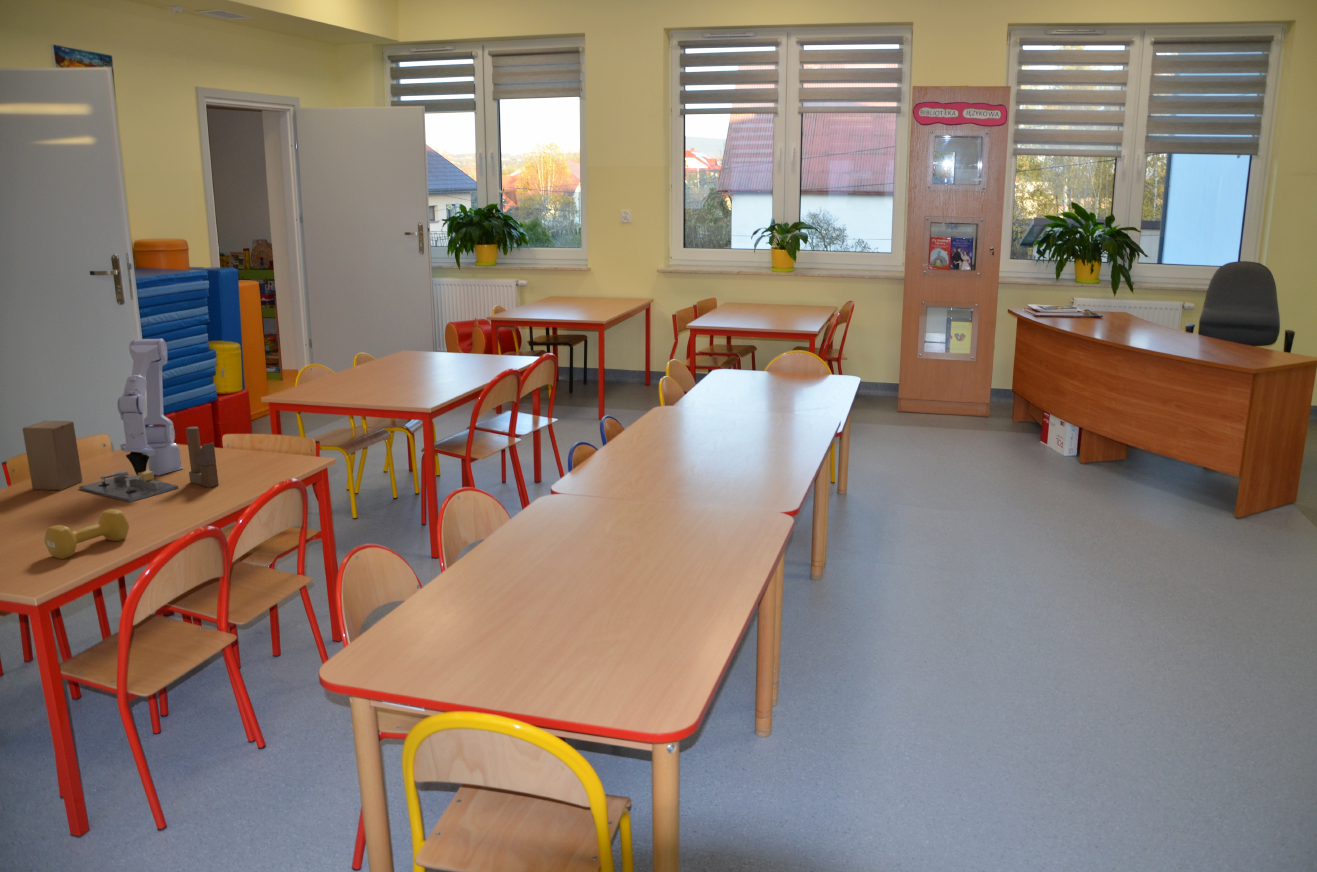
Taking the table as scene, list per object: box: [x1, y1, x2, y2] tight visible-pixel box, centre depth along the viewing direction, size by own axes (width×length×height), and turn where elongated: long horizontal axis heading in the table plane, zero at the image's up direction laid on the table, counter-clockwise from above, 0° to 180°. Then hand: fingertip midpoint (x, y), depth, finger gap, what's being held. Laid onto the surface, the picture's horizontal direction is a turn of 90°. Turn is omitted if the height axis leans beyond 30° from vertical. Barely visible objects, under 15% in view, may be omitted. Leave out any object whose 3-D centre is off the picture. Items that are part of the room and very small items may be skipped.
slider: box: [125, 469, 155, 490], centre depth 300 cm, size 8×3×4 cm, turn 150°
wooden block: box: [22, 420, 83, 491], centre depth 304 cm, size 10×10×20 cm
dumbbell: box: [44, 508, 130, 560], centre depth 253 cm, size 19×9×8 cm, turn 151°
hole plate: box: [78, 470, 179, 503], centre depth 303 cm, size 16×26×4 cm, turn 60°
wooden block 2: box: [185, 426, 220, 489], centre depth 306 cm, size 4×11×18 cm, turn 55°
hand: (141, 475), depth 303 cm, fingers closed
